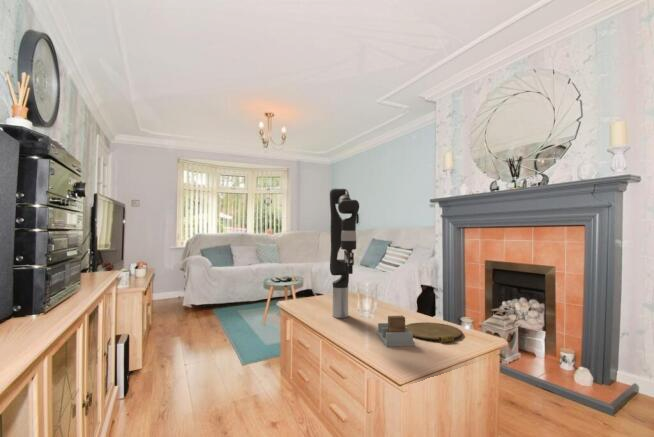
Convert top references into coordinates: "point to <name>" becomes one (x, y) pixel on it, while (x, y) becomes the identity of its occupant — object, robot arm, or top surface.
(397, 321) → the brown rectangular block
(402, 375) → the top surface
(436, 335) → the decorative disc
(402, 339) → the rack
